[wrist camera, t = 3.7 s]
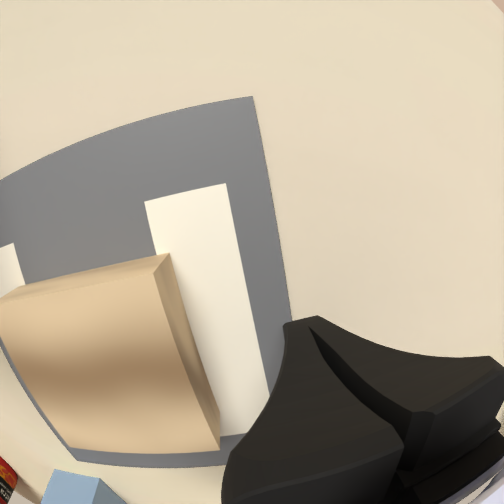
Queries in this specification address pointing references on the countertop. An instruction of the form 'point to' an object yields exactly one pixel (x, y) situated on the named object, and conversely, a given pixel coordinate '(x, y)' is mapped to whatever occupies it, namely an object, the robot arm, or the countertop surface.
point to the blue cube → (78, 490)
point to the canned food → (6, 481)
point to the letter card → (166, 245)
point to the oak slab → (113, 359)
